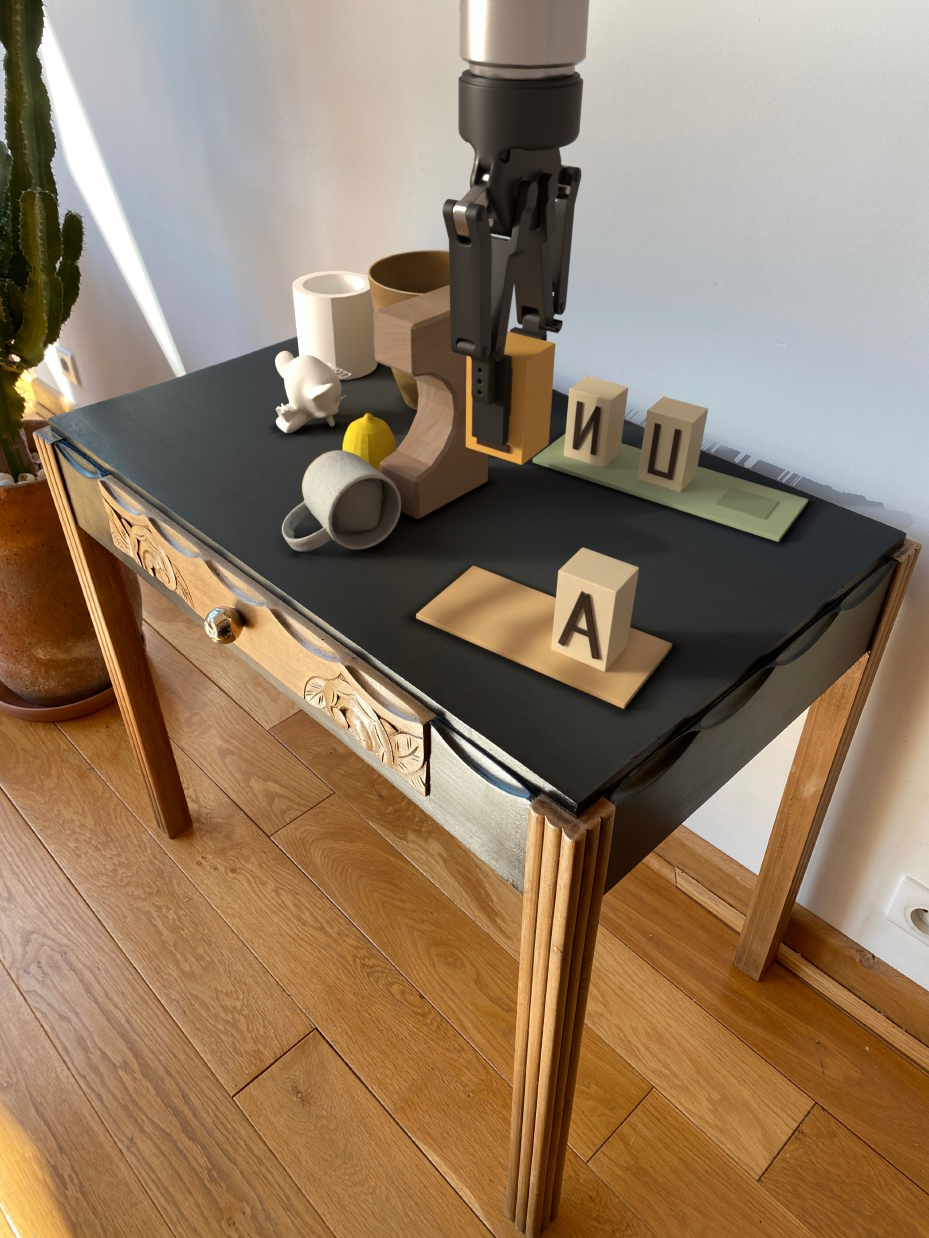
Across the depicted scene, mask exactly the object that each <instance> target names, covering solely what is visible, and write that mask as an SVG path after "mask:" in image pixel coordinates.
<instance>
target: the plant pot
mask: <svg viewBox="0 0 929 1238" xmlns="http://www.w3.org/2000/svg"><path fill="white" fill-rule="evenodd" d="M366 275H367V276H368V280H369V285H370V290H371V296H372V300H373V305H374V310H375V311H376V310H378V309H381V308H384V307H387V306H390V305H393V304H396V303H399V302H402V301H405V300H407V299H410V298H413V297H416V296H419V295H422V294H425V293H428V292H431V291H433V290H436V289H439V288H442V287H445V286H448V285H450V277H449V250H446V249H444V250H443V249H420V250H418V249H417V250H410V251H403V252H398V253H394V254H389V255H387V256H384V257H382V258H380V259H378V260H376V261H374V262H373V263H372V264H371V265H369V267H368V269H367V274H366ZM390 368H391V367H390ZM391 372H392V374H393V377H394V379H395V381H396V384H397V386H398V389H399V391H400V393H401V395H402V398H403V400H404V402H405V404H406V405H407V406H408V407H409V408H411V409H413V410H415V411H417V408H418V399H419V393H418V387H417V380H416V379H415V378H414V377H413V376H411V375H408V374H406V373H403V372H401V371H398V370H396V369H394V368H391Z"/></svg>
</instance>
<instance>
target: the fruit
mask: <svg viewBox="0 0 929 1238" xmlns="http://www.w3.org/2000/svg"><path fill="white" fill-rule="evenodd" d="M342 450H343V451H347V452H350V453H353V454H356V455H358V456H360V457H361V458H362V459H364V460H365V461H366V462H368V463H369V464H370V465H372V466H373V467H374V468H376V469H377V470H378V471H380V462H381V461H382V460H384V459H385V458H386V457H388V456H389V455H391V454H392V453H393V452H395V451H396V450H397V442H396V439H395V436H394V434H393V432H392V430H391V428H390V426H389V425H388V423H387V422H386V421H384V420H383V419H381V418H378V417H375V416H374V415H373V414H372V413H370V412H369V411H368V412H366V413H365V414H364V416H363V417H360V418H358V419H355V420H354V421H352V422H351V423H349V425H348V427H347V429H346V431H345V434H344V437H343V441H342Z"/></svg>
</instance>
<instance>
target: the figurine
mask: <svg viewBox="0 0 929 1238" xmlns="http://www.w3.org/2000/svg"><path fill="white" fill-rule="evenodd" d="M274 360H275V362H274V363H275V367H276V369H277V372H278V374H279V375H280V376H281V378H282V379H283V380H284V388H285V392H286V397H287V399H288V403H287V404H285V405H284V403H281V406H279V405H278V406H277V407H276V408H275V411H276V413H277V415H278V417H277V418H276V419H275V423H276V426H277V427H278V428H279V429H280V430H281V431H283V433H284V434H292V433H295V432H296V431H298V430H299V429H300V428H301V427H303V426H305V424H306V423H308V422H309V421H311V420H321V419H325V420H326V421H327V424H328V425H329V427H334V426H335V424H336V423H335V420H334V417H333V416H334V415H336V414H337V413H339V406H340V403H341V401H342V400H343V399H344V398H345V397H346V396H347V394H345V395H342V383H341V380H339V379H338V378H345V377H348V376H350V375H351V373H347V372H346V371H343V372H344V373H342V374H345V373H347V374H349V375H348V376H345V377H340V376H339V375H336V373H335V372H334V371H335V370H333V369H332V368H334V367H336V366H334V367H331V366H332V365H331V364H330V363H326V364H325V363H324V362H322V361H321V360H320V359H318V358H316V357H314V356H311V355H302V356H300V355H298V356H297V357H294V356H293V354H292V353H291V352H290V351H287V350H282V351H280V352H279V353H278V354H277V355H276V357H275V359H274ZM327 364H328V365H327ZM329 365H331V366H329ZM334 369H336V370H340V371H339V372H341V371H342V370H343V369H337V368H334ZM339 372H337V373H339ZM342 374H340V375H342ZM337 376H339V377H337Z"/></svg>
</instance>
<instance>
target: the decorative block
mask: <svg viewBox="0 0 929 1238" xmlns="http://www.w3.org/2000/svg"><path fill="white" fill-rule="evenodd" d="M373 324H374V348H375V360H376V361H377V363H378V364H381V365H383V366H386V367H388V368H394V369H396V370H398V371H401V372H403V373H406V374H408V375H411V376H413V377H414V378H415V379H416V380H417V387H418V393H419V399H418V408H417V410H416V414H415V416H414V419H413V421H412V424H411V426H410V428H409V430H408V433H407V434H406V436H405V437H404V438H403V440H402V441H401V443H400V444H399V445H398V447H397V448H396V451H395V452H393V453H392V454H391V455H389V456H388V457H386V458H385V459H384V460H382V461H381V462H380V472H381V473H382V474H384V475H385V476H386V477H388V478H389V479H390V480H392V481H393V483H394V484H395V485H396V487H397V489H398V491H399V494H400V497H401V511H400V512H402V513H404V514H406V515H407V516H410V517H412V518H414V519H415V520H420V519H421V518H423V517H425V516H427V515H428V514H431V513H432V512H434V511H436V510H438V509H440V508H441V507H443V506H444V505H446V504H448V503H450V502H452V501H454V500H456V499H457V498H460V497H461V496H463V495H465V494H467V493H469V492H470V491H472V490H475V489H476V488H478V487H480V486H481V485H483V484H485V483H487V482H488V481H489V458H490V457H489V456H490V455H489V454H486V453H483V452H480V451H477V450H473V449H470V448H467V447H466V376H467V356H465V355H461V354H458V353H454V352H452V350H451V333H450V285H448V286H445V287H442V288H439V289H436V290H433V291H431V292H428V293H425V294H422V295H419V296H416V297H413V298H410V299H407V300H405V301H402V302H399V303H396V304H393V305H390V306H387V307H384V308H381V309H378V310H376V311H375V312H374V313H373Z"/></svg>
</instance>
